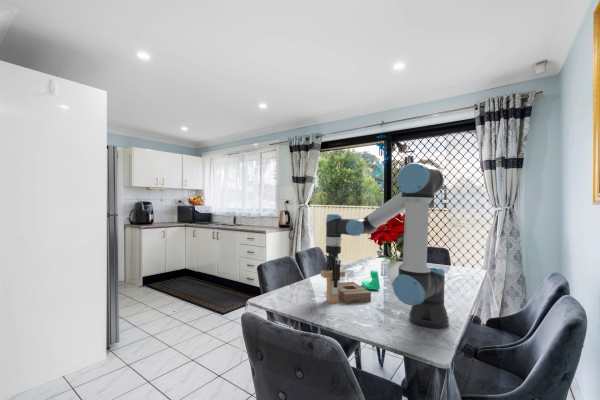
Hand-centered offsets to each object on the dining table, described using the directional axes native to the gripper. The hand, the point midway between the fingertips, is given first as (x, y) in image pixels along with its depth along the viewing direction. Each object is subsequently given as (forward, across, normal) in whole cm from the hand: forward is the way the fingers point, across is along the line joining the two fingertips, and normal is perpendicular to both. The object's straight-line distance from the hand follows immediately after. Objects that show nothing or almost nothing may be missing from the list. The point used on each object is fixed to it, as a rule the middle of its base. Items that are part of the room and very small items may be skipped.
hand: (332, 291), depth 142 cm
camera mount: (+5, +18, -31) cm, 36 cm away
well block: (+5, +6, -12) cm, 14 cm away
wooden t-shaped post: (+5, 0, 0) cm, 5 cm away
